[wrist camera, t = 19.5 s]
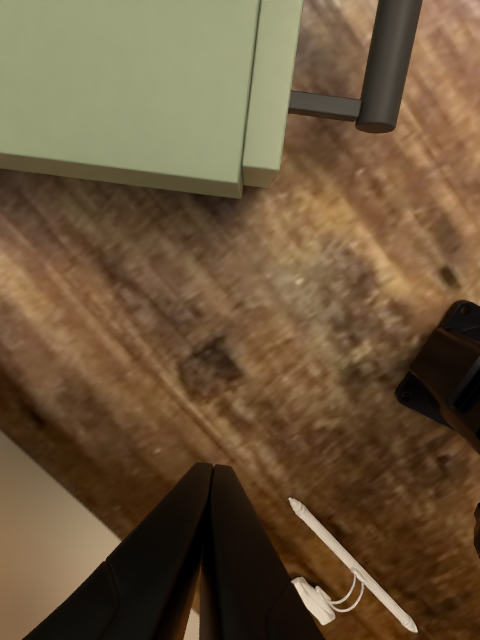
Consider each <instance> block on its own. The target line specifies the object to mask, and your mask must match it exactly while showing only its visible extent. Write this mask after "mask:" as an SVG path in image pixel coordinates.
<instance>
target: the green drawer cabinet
mask: <svg viewBox="0 0 480 640" xmlns="http://www.w3.org/2000/svg"><path fill="white" fill-rule="evenodd" d="M259 7H260V0H0V168H2V169H10V170H17V171H25V172H33V173H41V174H48V175H56V176H64V177H72V178H80V179H87V180H95V181H103V182H111V183H118V184H126V185H134V186H142V187H149V188H157V189H165V190H173V191H180V192H188V193H196V194H204V195H211V196H219V197H227V198H235V199H241V198H242V192H243V176H242V166H241V162H242V154H243V145H244V136H245V128H246V119H247V111H248V102H249V93H250V85H251V76H252V67H253V59H254V50H255V41H256V33H257V24H258V15H259Z"/></svg>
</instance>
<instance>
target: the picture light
mask: <svg viewBox="0 0 480 640" xmlns="http://www.w3.org/2000/svg"><path fill="white" fill-rule="evenodd" d="M288 500H289V501H290V505H291V506H292V508H293V510H294V511H295V513H296V515H297V516H298V517H299V518H301V519H302V520H303V521H304V522H305V523H306V524H307V525H308V526H309V527H310V528H311V529H312V530H313V531H314V532H315V533H316V534H317V535H318V536H319V537H320V538H321V539H322V541H323V542H324V543H325V544H326V545H327V546H328V547H329V548H330V549H331V550H332V551H333V552H334V553H335V554H336V555H337V556H338V557H339V558H340V559H341V560H342V561H343V562H344V563H345V564H346V565H347V567H348V568H349V569H350V570H351V572H352V573H353V574H354V581H353V585H352V587H351V589H350V591H349V593H348V594H347V595H346V596H345V597H344V598H343V599H342V600H340V601H336V602H332V601H331V598H330V597H329V596H328V595H327V594H326V593H325V592H324V591H323V590H322V589H321V588H320V587H319V586H316V587H315V589H314V588H313V587H312V586H310V585H309V584H308V583H307V582H306V580H305V579H304V578H303V577H300V578H299V577H297V578H296V579H294V580H292V581H291V582H292V583H294V585H295V587H296V589H297V591H298V593H299V595H300V597H301V598H302V600H303V602H304V604H305V606H306V607H307V609H308V610H309V611H310V612H311V613H312V614H313V615H314V616H315V617H316V618H317V619H318V620H319V621H320V623H321V624H322V625H325V624H327V623H329V622H331V621H332V620H334V619H335V614H334V612H333V610H332V609H331V607H332V608H333V609H334V610H336V611H339V612H347V611H350V610H351V609H353V608H354V607H355V606H356V605H357V604H358V602H359V600H360V599H361V596H362V594H363V589H364V585H366V586H367V587H368V588H369V589H370V590H371V591H372V593H373V594H374V595H375V596H376V597H377V598H378V599H379V600H380V601H381V602H382V603H383V604H384V605H385V606H386V607H387V608H388V609H389V610H390V611H391V612H392V613H393V614H394V615H395V616H396V617H397V619H398V620H399V621H400V622H401V624H402V625H403V626H404V627H405V628H407V629H408V630H410V631H412V632H416V633H417V632H418V630H417V627H416V625H415V623H414V621H413V620H412V618H411V617H410V616H409V615H408V614H407V613H405V612H404V611H403V610H402V609H401V608H400V607H399V605H398V604H397V603H396V602H395V601H394V600H393V599H392V598H391V597H390V596H389V595H388V594H387V593H386V592H385V591H384V590H383V589H382V588H381V586H380V585H379V584H378V583H377V582H376V581H375V580H374V579H373V578H372V577H371V576H370V575H369V574H368V573H367V572H366V571H365V570H364V569H363V568H362V566H361V565H360V564H359V563H358V562H357V561H356V560H355V559H354V558H353V557H352V556H351V555H350V554H349V553H348V552H347V551H346V550H345V549H344V548H343V546H342V545H341V544H340V543H339V542H338V541H337V540H336V539H335V538H334V537H333V536H332V535H331V534H330V533H329V532H328V531H327V530H326V529H325V528H324V526H323V525H322V524H321V523H320V522H319V521H318V520H317V519H316V518H315V517H314V516H313V515H312V514H311V513H310V512H309V511H308V508H307V507H306V506H305V505H304V504H301V502H300V501H297V500H296V499H292V498H291V497H289V499H288ZM356 577H357V578H358V579H359V580H360V581H361V582H362V588H361V593H360V595H359V597H358V599H357V601H356V602H355V603H354V604H353V605H352V606H351V607H350V608H348V609H344V610H340V609H337V608H335V607H334V606H333V605H332V604H338V603H341V602H343V601H345V600H346V599H347V598H348V597H349V595H350V594H351V592H352V591H353V588H354V586H355V582H356ZM329 604H330V605H329ZM330 606H331V607H330Z"/></svg>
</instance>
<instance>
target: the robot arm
mask: <svg viewBox="0 0 480 640" xmlns="http://www.w3.org/2000/svg"><path fill="white" fill-rule="evenodd" d="M465 306H467V310H466V312H464V313H461V310H462V308H463V307H465ZM406 392H408V395H407V396H406V397H402V395H403V394H404V393H406ZM395 397H396V399H397V400H398V401H399V402H400V403H401V404H403V405H405V406H407V407H409V408H411V409H413V410H415V411H417V412H419V413H421V414H423V415H425V416H427V417H429V418H431V419H433V420H435V421H437V422H439V423H441V424H443V425H445V426H447V427H449V428H451V429H453V430H455V431H456V432H457V433H458V434H459V435H460V436H461V437H462V438H463V439H464V440H465V441H466V442H467V443H468V444H469V445H470V446H471V447H472V448H473V449H474V450H475V451H476V452H477V453H478V454H479V455H480V306H478V305H476V304H474V303H472V302H470V301H467V300H460V301H458V302H456V303H455V304H454V306H453V307H452V308H451V310H450V311H449V313H448V314H447V316H446V317H445V319H444V320H443V322H442V323H441V325H440V326H439V327H438V329H436V330H434V331H433V333H432V334H431V336H430V337H429V339H428V340H427V342H426V343H425V345H424V346H423V347H422V349H421V350H420V352H419V353H418V355H417V356H416V358H415V359H414V361H413V362H412V364H411V365H410V370H409V371H408V373H407V374H406V376H405V377H404V379H403V380H402V381H401V383H400V384H399V386H398V387H397V389H396V391H395ZM474 516H475V519H476V522H477V523H476V525H475V528H474V546H475V548H476V551H477V553H478V555H479V558H480V502H479V503H478V505H477V507H476V509H475V512H474ZM203 545H204V546H203ZM202 553H203V555H202ZM201 560H202V564H201ZM200 567H201V577H200V628H199V640H326V639H325V638H324V636H323V635H322V633H321V632H320V630H319V629H318V627H317V625H316V623H315V622H314V620H313V618H312V616H311V615H310V613H309V611H308V609H307V607H306V606H305V604H304V602H303V600H302V598H301V597H300V595H299V593H298V591H297V589H296V587H295V585H294V583H292V582H291V578H290V576H289V574H288V572H287V570H286V568H285V567H284V565H283V563H282V561H281V559H280V557H279V555H278V553H277V551H276V549H275V548H274V546H273V544H272V542H271V540H270V538H269V536H268V534H267V532H266V531H265V529H264V527H263V525H262V523H261V521H260V519H259V517H258V515H257V514H256V512H255V510H254V508H253V506H252V504H251V502H250V500H249V498H248V497H247V495H246V493H245V491H244V489H243V487H242V485H241V483H240V481H239V479H238V478H237V476H236V474H235V472H234V470H233V468H232V467H231V466H228V465H219V464H216V465H214V468H213V465H212V464H211V463H202V462H196V463H195V464H194V465H193V466H192V467H191V468H190V469H189V470H188V471H187V472H186V474H185V475H184V476H183V477H182V478H181V479H180V480H179V481H178V482H177V483H176V484H175V485H174V486H173V487H172V489H171V490H170V491H169V492H168V493H167V494H166V495H165V496H164V497H163V498H162V499H161V500H160V501H159V502H158V504H157V505H156V506H155V507H154V508H153V509H152V510H151V511H150V512H149V513H148V514H147V515H146V516H145V517H144V519H143V520H142V521H141V522H140V523H139V524H138V525H137V526H136V527H135V528H134V529H133V530H132V531H131V532H130V533H129V535H128V536H127V537H126V538H125V539H124V540H123V541H122V542H121V543H120V544H119V545H118V546H117V547H116V548H115V550H114V551H113V552H112V553H111V554H110V555H109V556H108V557H107V558H106V561H103V562H102V563H101V564H100V565H99V566H98V567H97V569H96V570H95V571H94V572H93V573H92V574H91V575H90V576H89V577H88V578H87V579H86V580H85V581H84V582H83V583H82V584H81V585H80V586H79V587H78V588H77V589H76V590H75V591H74V592H73V593H72V594H71V595H70V597H68V598H67V600H65V601H64V602H63V603H62V604H61V605H60V606H59V607H58V608H57V609H55V610H54V611H53V612H52V613H51V614H50V615H49V616H48V617H47V618H46V619H44V620H43V621H42V622H41V623H40V624H39V625H38V626H37V627H36V628H34V629H33V630H32V631H31V632H30V633H29V634H28V635H27V636H25V637H24V638H23V639H22V640H183V638H184V634H185V630H186V626H187V622H188V618H189V614H190V610H191V606H192V602H193V598H194V594H195V590H196V586H197V582H198V577H199V572H200Z"/></svg>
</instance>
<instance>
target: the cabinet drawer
mask: <svg viewBox="0 0 480 640" xmlns="http://www.w3.org/2000/svg"><path fill="white" fill-rule="evenodd" d="M303 3H304V0H260V7H259V15H258V24H257V33H256V41H255V50H254V59H253V67H252V76H251V85H250V93H249V102H248V111H247V119H246V128H245V136H244V145H243V154H242V162H241V166H242V176H243V185H247V186H254V187H262V188H268V187H269V185H270V184H271V182H272V181H273V179H274V178H275V176H276V174H277V173H278V171H279V170H280V165H281V158H282V151H283V144H284V137H285V130H286V122H287V115H288V113H291V114H298V115H306V116H313V117H321V118H328V119H336V120H343V121H351V122H354V121H356V125H355V126H356V128H357V129H358V130H360V131H363V132H367V133H387V132H391V131H393V130H394V129H395V127H396V123H397V118H398V113H399V108H400V104H401V99H402V94H403V90H404V85H405V80H406V76H407V71H408V66H409V61H410V57H411V52H412V47H413V43H414V38H415V33H416V29H417V24H418V19H419V14H420V10H421V5H422V0H379V2H378V7H377V12H376V18H375V23H374V28H373V34H372V39H371V44H370V50H369V55H368V60H367V66H366V71H365V77H364V82H363V87H362V93H361V98H360V100H359V99H352V98H344V97H337V96H329V95H322V94H314V93H307V92H299V91H292V90H291V87H292V80H293V73H294V66H295V59H296V52H297V45H298V38H299V31H300V24H301V17H302V10H303Z"/></svg>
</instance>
